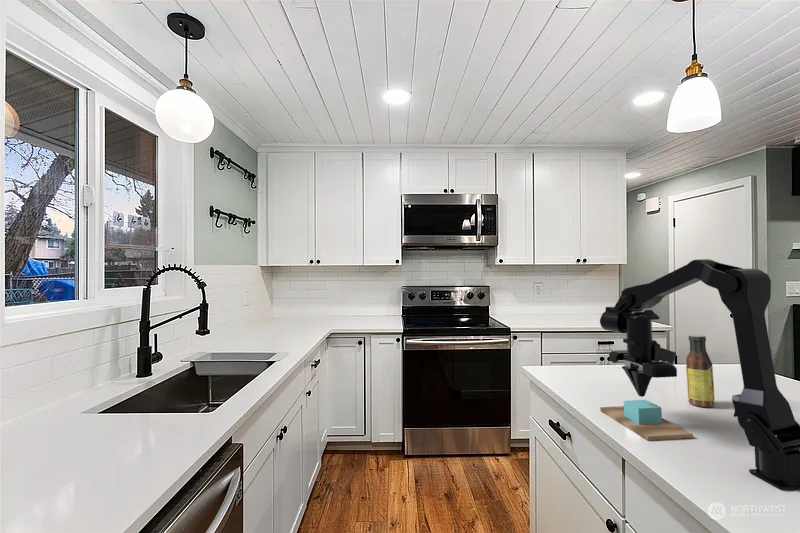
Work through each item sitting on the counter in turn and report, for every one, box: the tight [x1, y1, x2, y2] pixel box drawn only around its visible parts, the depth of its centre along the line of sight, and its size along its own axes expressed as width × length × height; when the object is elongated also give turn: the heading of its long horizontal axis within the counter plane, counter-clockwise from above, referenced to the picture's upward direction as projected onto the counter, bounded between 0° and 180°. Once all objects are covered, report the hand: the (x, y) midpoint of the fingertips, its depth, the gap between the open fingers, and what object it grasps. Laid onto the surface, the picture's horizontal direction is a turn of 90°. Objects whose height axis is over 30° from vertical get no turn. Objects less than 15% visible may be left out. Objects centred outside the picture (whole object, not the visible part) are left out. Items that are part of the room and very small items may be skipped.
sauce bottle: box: [685, 334, 715, 408], centre depth 116 cm, size 6×6×20 cm
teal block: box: [623, 399, 663, 425], centre depth 103 cm, size 6×6×4 cm
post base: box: [599, 405, 694, 442], centre depth 103 cm, size 20×11×4 cm, turn 3°
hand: (641, 396), depth 103 cm, fingers closed
